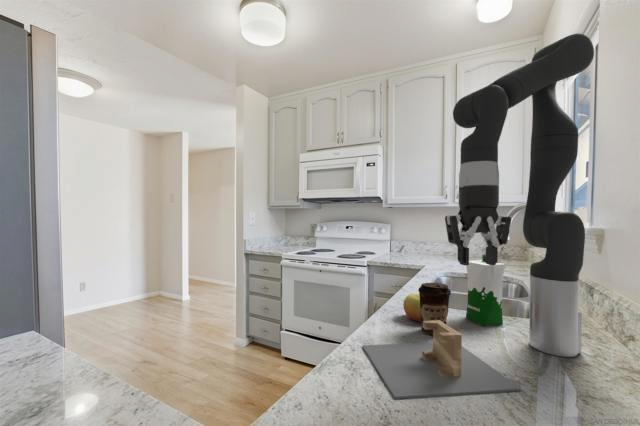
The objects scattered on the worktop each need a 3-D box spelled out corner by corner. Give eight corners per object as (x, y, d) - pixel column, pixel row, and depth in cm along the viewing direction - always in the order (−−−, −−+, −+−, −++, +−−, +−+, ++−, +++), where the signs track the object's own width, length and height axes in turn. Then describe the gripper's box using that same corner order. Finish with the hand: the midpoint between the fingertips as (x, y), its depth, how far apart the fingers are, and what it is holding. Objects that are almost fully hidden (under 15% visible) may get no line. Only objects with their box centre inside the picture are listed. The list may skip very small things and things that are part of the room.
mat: (455, 343, 73) (456, 341, 73) (521, 390, 53) (521, 388, 53) (362, 347, 70) (362, 345, 70) (394, 399, 50) (394, 396, 50)
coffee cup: (454, 340, 75) (455, 289, 75) (420, 337, 76) (420, 287, 77) (446, 328, 83) (447, 282, 84) (416, 325, 85) (416, 280, 85)
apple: (440, 318, 91) (440, 292, 92) (433, 328, 83) (434, 299, 83) (408, 312, 97) (408, 287, 97) (399, 320, 88) (399, 294, 89)
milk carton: (508, 325, 87) (508, 257, 87) (483, 328, 84) (484, 258, 84) (483, 315, 95) (484, 253, 95) (460, 317, 92) (461, 254, 93)
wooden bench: (439, 356, 65) (439, 320, 65) (461, 376, 57) (461, 334, 57) (422, 357, 65) (422, 320, 65) (441, 377, 57) (442, 335, 57)
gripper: (496, 187, 67) (495, 261, 67) (437, 185, 65) (436, 262, 65) (523, 184, 60) (522, 267, 59) (457, 182, 58) (456, 268, 58)
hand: (477, 264), depth 62 cm, fingers open, 5 cm apart
